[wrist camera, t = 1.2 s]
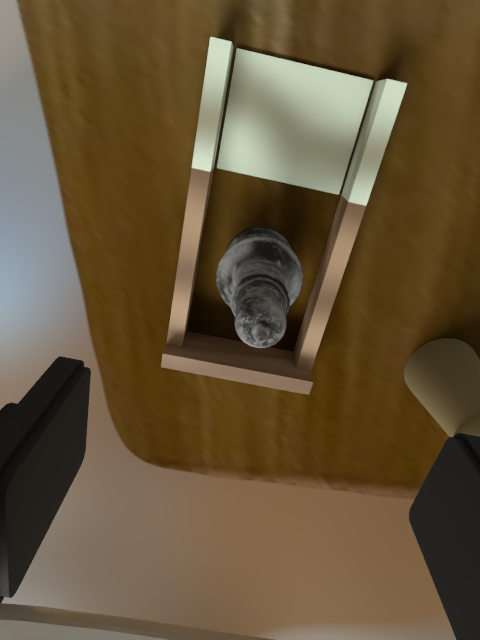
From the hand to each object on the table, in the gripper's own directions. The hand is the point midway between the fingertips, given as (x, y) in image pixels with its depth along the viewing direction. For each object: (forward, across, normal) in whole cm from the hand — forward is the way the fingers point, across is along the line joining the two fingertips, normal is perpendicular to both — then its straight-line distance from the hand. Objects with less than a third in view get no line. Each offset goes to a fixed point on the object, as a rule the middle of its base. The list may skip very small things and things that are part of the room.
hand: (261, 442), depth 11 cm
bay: (+22, -1, -1) cm, 22 cm away
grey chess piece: (+22, -1, +2) cm, 22 cm away
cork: (+22, -18, +8) cm, 30 cm away
